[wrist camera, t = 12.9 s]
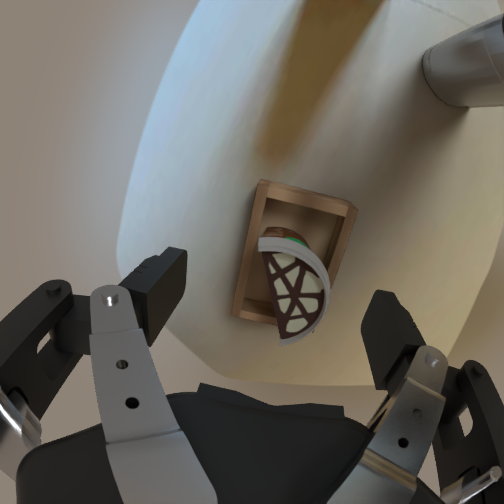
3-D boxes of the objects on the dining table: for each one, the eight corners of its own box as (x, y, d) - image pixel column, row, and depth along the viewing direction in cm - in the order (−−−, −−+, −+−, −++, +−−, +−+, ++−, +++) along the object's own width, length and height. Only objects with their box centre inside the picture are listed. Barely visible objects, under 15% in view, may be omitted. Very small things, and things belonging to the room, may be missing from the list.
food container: (325, 294, 37) (336, 341, 28) (282, 301, 38) (280, 349, 29) (314, 207, 32) (326, 233, 23) (264, 215, 33) (256, 245, 24)
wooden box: (350, 201, 32) (358, 209, 29) (311, 315, 39) (313, 332, 36) (260, 179, 33) (258, 184, 29) (235, 299, 39) (230, 315, 36)
